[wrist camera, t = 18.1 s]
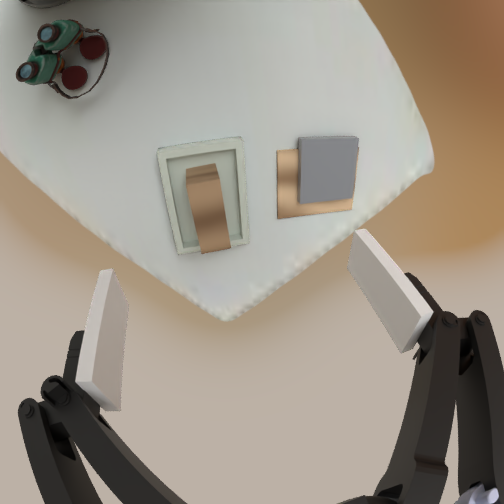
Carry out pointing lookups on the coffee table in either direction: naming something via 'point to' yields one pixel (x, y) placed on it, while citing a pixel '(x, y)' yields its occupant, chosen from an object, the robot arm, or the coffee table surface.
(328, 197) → the grey square tile
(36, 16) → the coffee table surface
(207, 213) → the block
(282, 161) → the cork mat
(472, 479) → the robot arm
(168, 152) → the tray
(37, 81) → the binoculars
